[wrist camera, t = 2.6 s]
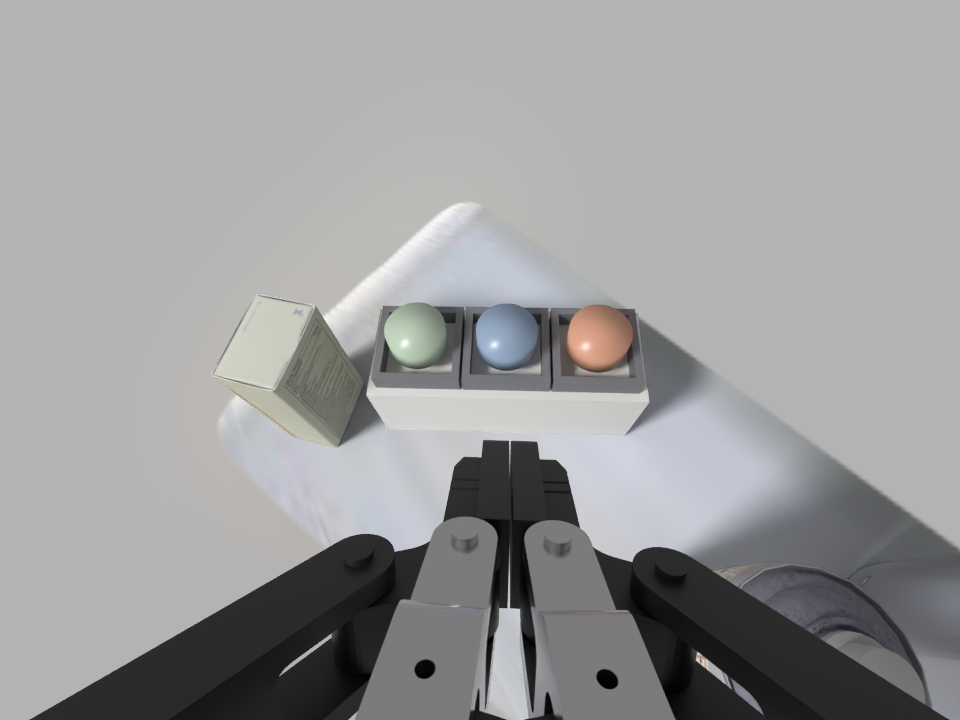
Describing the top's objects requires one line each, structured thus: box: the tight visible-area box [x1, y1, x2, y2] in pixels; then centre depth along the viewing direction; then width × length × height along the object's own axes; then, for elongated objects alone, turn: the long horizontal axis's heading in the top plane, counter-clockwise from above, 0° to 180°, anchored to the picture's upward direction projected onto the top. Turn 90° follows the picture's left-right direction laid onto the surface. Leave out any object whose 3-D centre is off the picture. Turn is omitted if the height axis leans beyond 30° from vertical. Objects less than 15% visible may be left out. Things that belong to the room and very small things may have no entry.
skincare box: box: [212, 294, 364, 447], centre depth 34 cm, size 6×4×12 cm
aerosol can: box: [696, 561, 932, 714], centre depth 22 cm, size 7×7×20 cm
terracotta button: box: [566, 305, 633, 373], centre depth 31 cm, size 4×4×2 cm
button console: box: [366, 306, 649, 436], centre depth 35 cm, size 19×7×8 cm, turn 88°
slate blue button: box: [476, 304, 538, 371], centre depth 31 cm, size 4×4×2 cm
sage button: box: [384, 303, 448, 369], centre depth 31 cm, size 4×4×2 cm
